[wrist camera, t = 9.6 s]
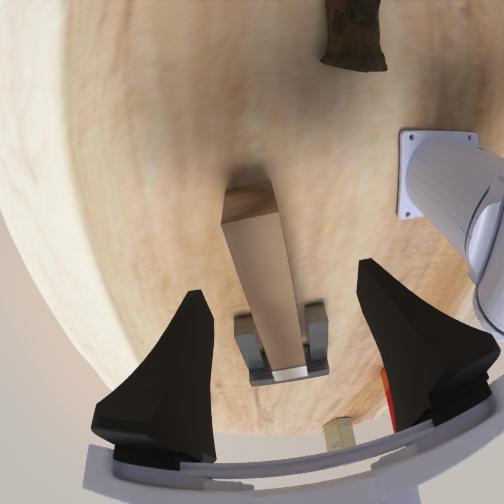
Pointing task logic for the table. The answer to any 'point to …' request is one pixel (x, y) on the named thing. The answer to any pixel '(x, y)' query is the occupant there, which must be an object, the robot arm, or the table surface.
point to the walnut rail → (265, 275)
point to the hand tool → (354, 36)
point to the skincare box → (339, 434)
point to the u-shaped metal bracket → (313, 351)
